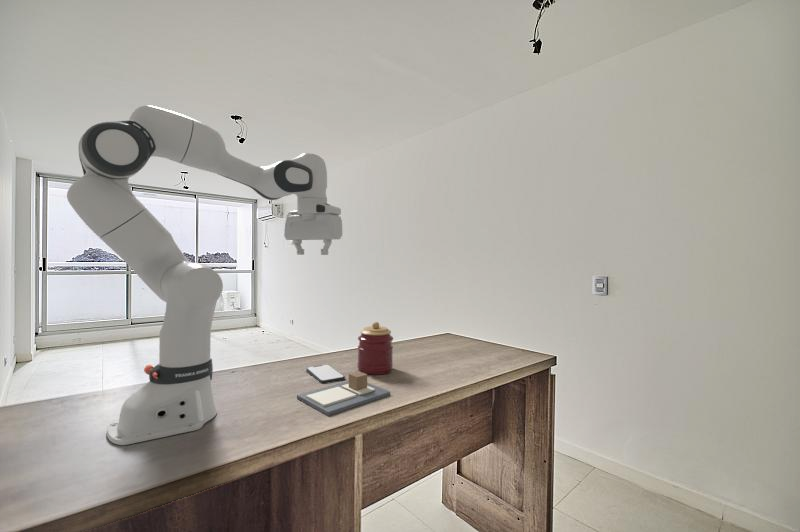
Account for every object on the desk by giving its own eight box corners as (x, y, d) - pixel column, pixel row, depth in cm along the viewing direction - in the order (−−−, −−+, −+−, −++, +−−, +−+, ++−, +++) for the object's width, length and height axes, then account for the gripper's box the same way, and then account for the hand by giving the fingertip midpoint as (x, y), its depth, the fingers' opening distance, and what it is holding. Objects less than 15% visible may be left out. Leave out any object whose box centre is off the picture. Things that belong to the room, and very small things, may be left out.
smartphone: (346, 381, 124) (328, 368, 138) (346, 376, 124) (328, 364, 138) (321, 386, 120) (305, 371, 133) (321, 381, 120) (305, 367, 133)
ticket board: (328, 415, 96) (328, 409, 96) (296, 398, 107) (296, 392, 107) (390, 394, 111) (390, 389, 111) (357, 381, 122) (357, 376, 122)
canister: (376, 362, 145) (377, 317, 145) (400, 370, 136) (401, 322, 136) (350, 369, 136) (350, 321, 135) (373, 377, 127) (374, 326, 126)
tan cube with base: (359, 395, 107) (359, 380, 107) (341, 387, 114) (341, 372, 113) (375, 390, 111) (375, 375, 111) (356, 383, 118) (356, 368, 118)
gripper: (279, 209, 115) (279, 254, 115) (332, 206, 105) (332, 254, 106) (294, 212, 120) (294, 254, 121) (345, 208, 111) (345, 255, 111)
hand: (312, 254), depth 113 cm, fingers open, 8 cm apart
